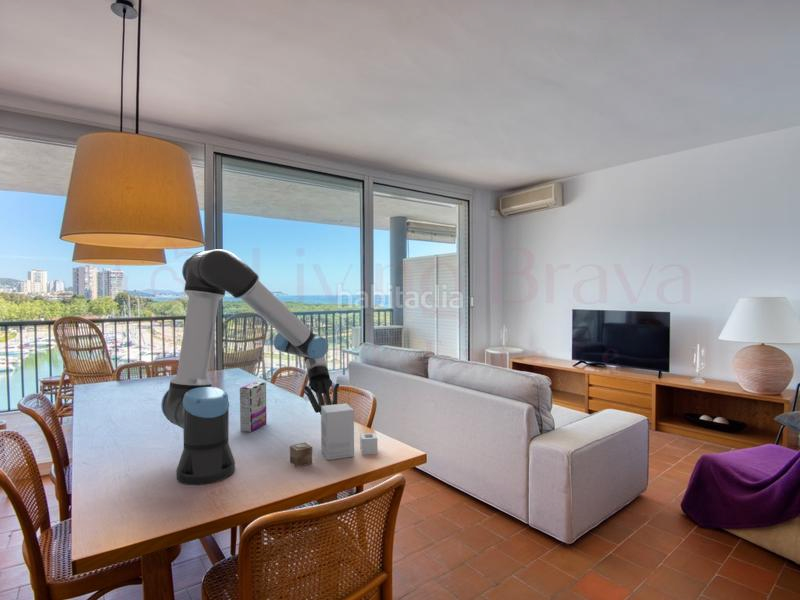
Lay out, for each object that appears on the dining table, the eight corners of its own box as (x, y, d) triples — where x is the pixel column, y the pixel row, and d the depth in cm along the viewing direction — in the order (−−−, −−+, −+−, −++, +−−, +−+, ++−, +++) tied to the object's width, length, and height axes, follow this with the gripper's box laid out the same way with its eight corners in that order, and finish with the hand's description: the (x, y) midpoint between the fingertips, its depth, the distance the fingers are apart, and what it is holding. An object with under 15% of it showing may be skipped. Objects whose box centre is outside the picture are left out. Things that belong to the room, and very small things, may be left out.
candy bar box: (255, 422, 168) (255, 381, 168) (266, 423, 167) (266, 381, 167) (239, 431, 157) (239, 387, 157) (251, 432, 156) (251, 388, 156)
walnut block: (296, 467, 126) (296, 449, 126) (289, 461, 130) (289, 445, 130) (312, 463, 129) (312, 446, 129) (305, 458, 133) (305, 441, 133)
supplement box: (347, 447, 142) (347, 402, 142) (354, 456, 134) (354, 409, 134) (320, 450, 139) (320, 405, 139) (325, 460, 131) (326, 412, 130)
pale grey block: (361, 454, 136) (361, 438, 136) (360, 449, 141) (360, 433, 141) (377, 453, 137) (377, 437, 137) (375, 448, 142) (375, 432, 142)
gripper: (332, 375, 162) (346, 431, 147) (298, 377, 156) (309, 437, 141) (336, 363, 157) (352, 420, 143) (301, 365, 151) (313, 425, 137)
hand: (330, 428), depth 142 cm, fingers closed
